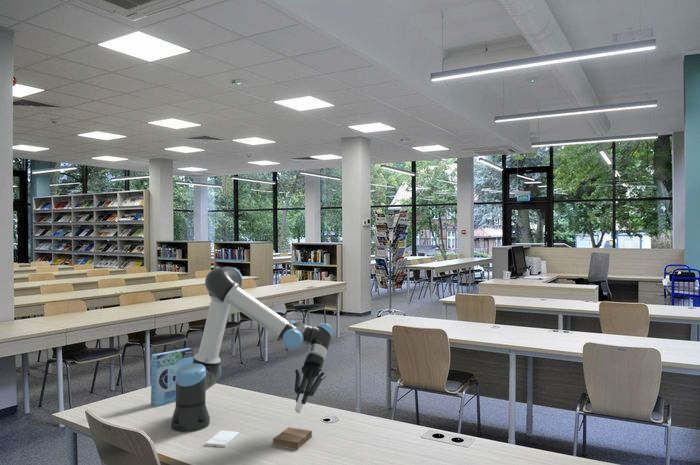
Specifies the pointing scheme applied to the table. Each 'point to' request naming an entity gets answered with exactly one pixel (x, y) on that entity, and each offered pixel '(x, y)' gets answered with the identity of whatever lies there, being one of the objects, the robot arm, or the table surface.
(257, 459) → the table surface
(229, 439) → the external hard drive
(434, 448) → the table surface
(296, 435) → the walnut tile
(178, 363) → the gum box
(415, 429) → the table surface
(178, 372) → the robot arm
